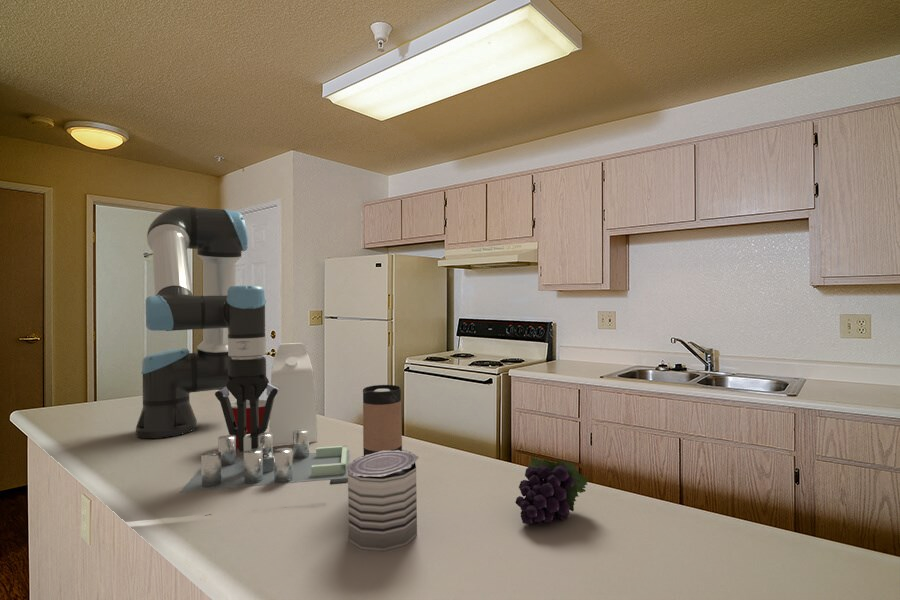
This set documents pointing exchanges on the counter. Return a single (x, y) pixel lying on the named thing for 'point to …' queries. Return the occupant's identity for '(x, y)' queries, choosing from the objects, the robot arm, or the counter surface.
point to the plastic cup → (247, 415)
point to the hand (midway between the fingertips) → (249, 465)
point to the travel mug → (382, 419)
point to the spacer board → (270, 474)
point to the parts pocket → (330, 468)
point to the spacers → (254, 458)
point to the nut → (268, 462)
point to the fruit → (549, 490)
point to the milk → (292, 394)
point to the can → (382, 500)
